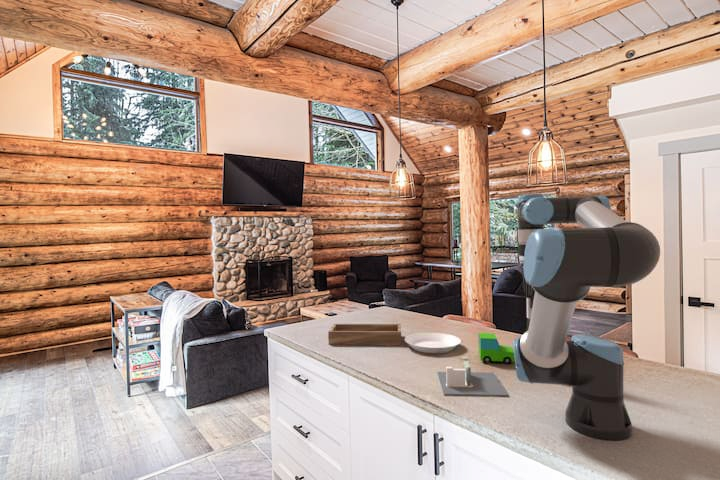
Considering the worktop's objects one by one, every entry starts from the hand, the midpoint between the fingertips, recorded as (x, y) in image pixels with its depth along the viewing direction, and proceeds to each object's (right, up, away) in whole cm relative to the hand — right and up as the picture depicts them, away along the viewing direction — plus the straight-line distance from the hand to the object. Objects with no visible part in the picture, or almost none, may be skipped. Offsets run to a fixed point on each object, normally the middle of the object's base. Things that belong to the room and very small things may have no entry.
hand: (531, 317), depth 126 cm
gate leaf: (-17, -24, +13) cm, 32 cm away
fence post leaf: (-21, -25, +8) cm, 33 cm away
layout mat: (-17, -25, +10) cm, 31 cm away
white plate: (-22, -24, +54) cm, 63 cm away
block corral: (-51, -24, +68) cm, 88 cm away
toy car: (+1, -24, +34) cm, 41 cm away
